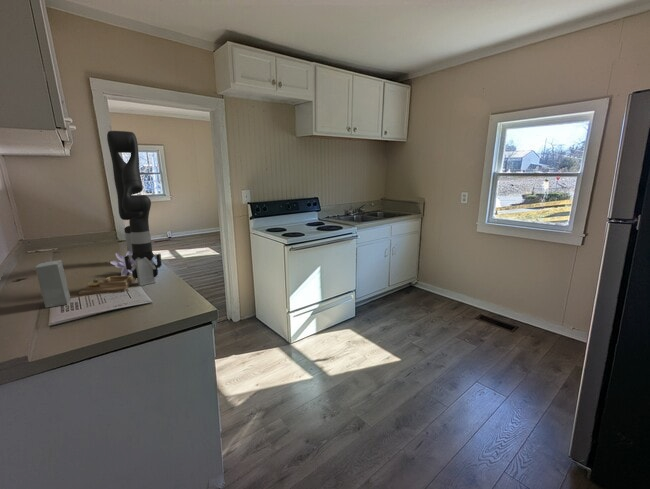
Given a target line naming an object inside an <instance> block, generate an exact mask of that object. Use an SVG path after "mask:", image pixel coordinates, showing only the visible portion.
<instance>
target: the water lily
mask: <svg viewBox="0 0 650 489" xmlns="http://www.w3.org/2000/svg"><path fill="white" fill-rule="evenodd" d="M127 255H129V256H131V255H133V253H130V251H128V252H127V251H126V254H125V256H127ZM125 256H123V255H121V254H120V253H117V252H115V257H116V259H117V260H111V261H109V263H110V264H111V265H113V266H114V267H115V268H117V269H121V272H120V273H121V275H120V276H127V274H128V273H130V274H131V275H132V270H127V269H126V263H125ZM132 259H133V258H131V260H130V262H131V266H133V265H134V263H135V260H132Z"/></svg>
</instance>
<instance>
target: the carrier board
mask: <svg viewBox="0 0 650 489" xmlns="http://www.w3.org/2000/svg"><path fill="white" fill-rule="evenodd" d="M100 280H102V282H101V283H100V284H99V285H100V286H98V287H89V286H88V285H86V286H85V287H84V288H83V289H81V290H80V291H79V292H78V295H79V296H85V295H86V296H87V295H97V294H99V293H101V294H108V293H107V292H113V293H119V292H118V291H124V292H126V291H127V289H128V288H129V287H131V285H132V284H133V283H135V282H136V280H137V278H136V279H135V278H134V277H133V275H132V274H131V275H130V274H129V275H127V274H126V275H125V276H122V275H115V276H114V275H113V276H107V277H106V278H103V279H102V278H101V279H100Z"/></svg>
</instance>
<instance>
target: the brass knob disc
mask: <svg viewBox="0 0 650 489" xmlns="http://www.w3.org/2000/svg"><path fill="white" fill-rule="evenodd" d="M101 282H102V280H101V279H98V278H95V279H94V278H93V279H92V280H91V281H89V282H87V284H88V285H87V286H89V287H98V286H100V285H99V284H100V283H101Z"/></svg>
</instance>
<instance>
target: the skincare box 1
mask: <svg viewBox="0 0 650 489" xmlns="http://www.w3.org/2000/svg"><path fill="white" fill-rule="evenodd" d="M63 264H64V263H63V260H62V259H60V260H59V259H58V260H53V261H43V262H40V263H39V264H37V265H36V266H35V267H34V270H35V272H36V277H37V280H38V285H39V288H40V292H41V295H42V299H43V303H44V307H45V308H53V307H58V306H59V307H60V306H66V305H65V304H67V305H68V303H69V301H70V300H71V294H70V290H69V286H68V282H67V277H66V273H65V270H64V265H63Z"/></svg>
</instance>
